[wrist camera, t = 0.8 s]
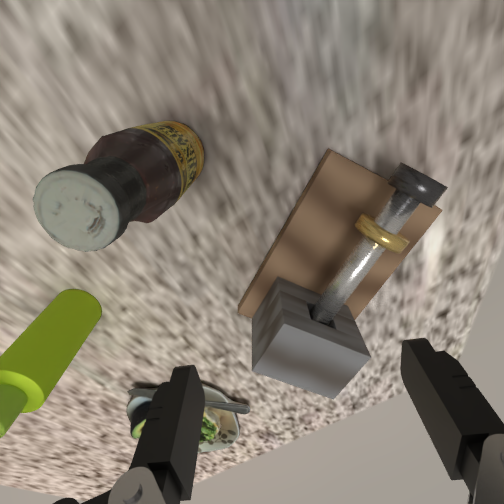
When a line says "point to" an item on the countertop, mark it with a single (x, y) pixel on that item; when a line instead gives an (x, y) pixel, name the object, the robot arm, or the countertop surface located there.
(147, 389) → the salad plate
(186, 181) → the sauce bottle
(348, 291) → the shaft
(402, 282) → the countertop surface
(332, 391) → the bearing block
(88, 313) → the soap dispenser
